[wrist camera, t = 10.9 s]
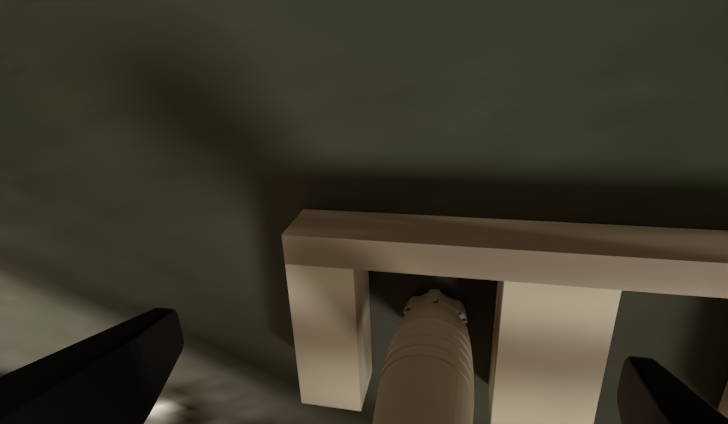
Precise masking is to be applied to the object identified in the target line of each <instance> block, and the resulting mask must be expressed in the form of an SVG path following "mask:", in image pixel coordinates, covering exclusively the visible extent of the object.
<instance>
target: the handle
mask: <svg viewBox="0 0 728 424" xmlns="http://www.w3.org/2000/svg"><path fill="white" fill-rule="evenodd" d="M403 313H404V314H405V315H404V317H403V318H402V320H401V322H400V323H399V325H398V327H397V329H396V331H395V334H394V336H393V338H392V341H391V344H390V347H389V350H388V352H387V355H386V359H385V362H384V366H383V370H382V374H381V378H380V382H379V387H378V392H377V398H376V404H375V410H374V416H373V422H372V424H473V412H474V372H473V360H472V350H471V343H470V338H469V334H468V330H467V327H466V325H465V323H467V315H466V311H465V308H464V306H463V304H462V303H461V302H460V301H459V300H453V299H451V298H448V297H447V296H445V295H444V294H442V293H441V292H440V290H438V289H430V290H429V292H428V293H426V294H424V295H421V296H413V297H411V298H410V300H409V301H408V303H407V304H406V306H405V309H404V311H403Z"/></svg>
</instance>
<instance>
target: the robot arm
mask: <svg viewBox="0 0 728 424" xmlns="http://www.w3.org/2000/svg"><path fill="white" fill-rule="evenodd" d="M183 345H184V338H183V334H182V330H181V326H180V322H179V318H178V314H177V312H176V311H175V310H173V309H168V308H154V309H152V310H150V311H148V312H145V313H143V314H141V315H139V316H136V317H134V318H132V319H130V320H127V321H125V322H123V323H120V324H118V325H116V326H114V327H111V328H109V329H107V330H105V331H102V332H100V333H98V334H96V335H93V336H91V337H89V338H87V339H84V340H82V341H80V342H78V343H75V344H73V345H71V346H69V347H66V348H64V349H62V350H60V351H57V352H55V353H53V354H51V355H48V356H46V357H44V358H42V359H39V360H37V361H35V362H33V363H30V364H28V365H26V366H24V367H21V368H19V369H17V370H15V371H12V372H10V373H8V374H6V375H3V376H1V377H0V424H144V422H145V420H146V419H147V417H148V415H149V414H150V412H151V410H152V408H153V406H154V405H155V403H156V401H157V399H158V397H159V395H160V393H161V391H162V389H163V387H164V385H165V383H166V381H167V379H168V377H169V375H170V373H171V371H172V369H173V367H174V365H175V364H176V362H177V360H178V358H179V356H180V354H181V352H182V349H183ZM617 405H618V410H619V415H620V420H621V424H728V418H727V417H725V416H724V415H723V414H722V413H720V412H719V411H718V410H717V409H715V408H714V407H713V406H712V405H710V404H709V403H708V402H707V401H705V400H704V399H703V398H702V397H700V396H699V395H698V394H697V393H695V392H694V391H693V390H692V389H690V388H689V387H688V386H687V385H685V384H684V383H683V382H682V381H680V380H679V379H678V378H677V377H675V376H674V375H673V374H672V373H670V372H669V371H668V370H667V369H665V368H664V367H663V366H662V365H660V364H659V363H658V362H657V361H655V360H654V359H652V358H647V357H637V356H628V357H627V358H626V359H625V360H624V363H623V367H622V371H621V376H620V380H619V384H618V388H617Z"/></svg>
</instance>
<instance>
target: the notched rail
mask: <svg viewBox="0 0 728 424" xmlns="http://www.w3.org/2000/svg"><path fill="white" fill-rule="evenodd" d="M282 244H283V252H284V260H285V268H286V277H287V285H288V293H289V302H290V310H291V318H292V327H293V335H294V343H295V351H296V360H297V368H298V376H299V385H300V393H301V401H302V403H306V404H313V405H320V406H327V407H334V408H341V409H348V410H355V411H361V410H362V406H363V402H364V399H365V395H366V392H367V388H368V385H369V381H370V377H371V374H372V351H371V326H370V301H369V275H368V271H381V272H394V273H406V274H419V275H432V276H445V277H458V278H471V279H484V280H496V281H498V283H497V294H496V306H495V317H494V328H493V340H492V351H491V362H490V374H489V385H488V386H489V412H490V424H593V423H594V418H595V413H596V409H597V404H598V399H599V395H600V390H601V385H602V381H603V376H604V371H605V366H606V362H607V357H608V352H609V348H610V343H611V338H612V334H613V329H614V324H615V319H616V315H617V310H618V305H619V301H620V296H621V291H622V290H625V291H638V292H651V293H664V294H677V295H690V296H702V297H715V298H728V231H725V230H706V229H686V228H667V227H647V226H627V225H608V224H588V223H568V222H549V221H529V220H510V219H490V218H470V217H451V216H431V215H411V214H392V213H372V212H353V211H333V210H313V209H303V210H302V211H301V212H300V214H299V215H298V216H297V217H296V218H295V219H294V221H293V222H292V223H291V224H290V225H289V227H288V228H287V229H286V230H285V231H284V233H283V234H282ZM718 411H719V412H720V413H722V414H723V415H724V416H725V417H727V418H728V381H727V384H726V387H725V390H724V392H723V395H722V398H721V401H720V404H719V407H718Z"/></svg>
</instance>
